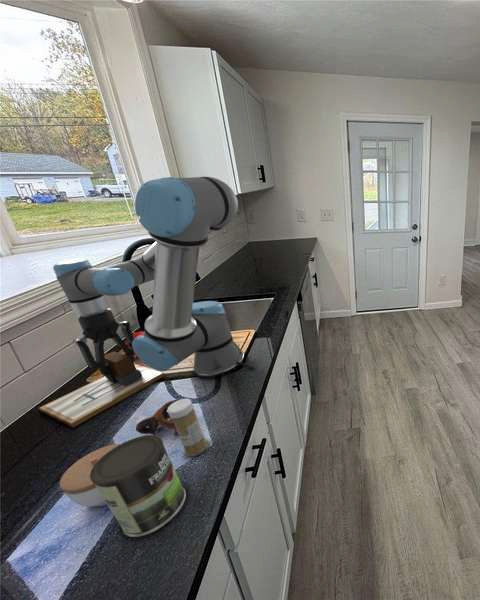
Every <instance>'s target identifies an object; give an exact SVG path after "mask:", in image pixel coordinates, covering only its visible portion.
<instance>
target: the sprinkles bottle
mask: <svg viewBox="0 0 480 600" xmlns="http://www.w3.org/2000/svg"><path fill="white" fill-rule="evenodd" d="M177 400H178V399H177ZM193 408H194V405H193V401H192V400H191V399H189V398H182V399H181V400H178V401H176V402H174V403H172V404H171V405H170V406H169V407H168V409H167V412H168V414H169V416H170V417H171V418H170V419H171V421H173V422H174V425H175V427H176V430H177V433H178V435H179V436H178V437H179V440H180V442H181V444H182V447H183V449H184V452H185V455H186V456H187V457H196V456H198V455H200V454H202V453H203V452H204V451H206V449H207V447H208V442H207V441H206V438H205V436H204V432H203V429H202V426H201V423H200V422H199V419H198V417H197V415H196V412H194V411H195V408H194V409H193Z"/></svg>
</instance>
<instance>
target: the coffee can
mask: <svg viewBox="0 0 480 600" xmlns="http://www.w3.org/2000/svg"><path fill="white" fill-rule="evenodd" d="M119 444H120V445H118V446H117V447H115V448H113V449H112V450H110V451H109V452H108V453H106V454H105V455H104V456H103V457H101V458H100V459H99V460H98V461H97V463H96V464H95V465H94V466H93V468H92V470H91V472H90V479H91V481H92V482H93V483H94V484H95V485H96V487H97V488H98V490H99V491H100V493H101V495H102V496H103V498H104V500H105V501H106V503H107V504H106V505H107V507H108V508H109V509H110V511H111V513H112V514H113V516H114V517H115V519H116V521H117V523H118V524H119V526H120V527H121V529H122V532H123V534H124V535H126V536H127V537H131V538H139V537H145V536H146V535H150V534H152V533H154V532H156V531H159V530H160V529H161V528H163V527H164V526H165V525H167V524H168V523H169V522H170V521H172V520H173V518H174V517H175V516H177V514H178V513H179V512H180V511H181V509H182V508H183V506H184V504H185V502H186V497H187V493H186V489H185V488H184V486H183V484H182V482H181V480H180V478H179V476H178V473H177V471H176V469H175V466H174V465H173V463H172V460H171V457H170V456H169V453H168V452H167V449H166V447H165V443H164V440H163V439H162V437H160V436H159V435H157V434H156V435H152V434H144V435H140V436H136V437H134V438H131V439H128V440H126V441H125V442H122V443H119Z"/></svg>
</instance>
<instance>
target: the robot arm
mask: <svg viewBox="0 0 480 600" xmlns="http://www.w3.org/2000/svg"><path fill="white" fill-rule="evenodd" d="M133 204H134V212H135V215H136V216H137V217H139V219H138V222H139V223H140V225H141V226H142V227H143V228H144V229H145V230H146V231H147V233H148V235H149V237H150V238H152V239H153V240H155V242H154V243H152V245H150V246H149V248H147V250H145V252H143V253H142V254H141V255H140V256H139V257H136V258H132V259H129V260H126V261H123V262H118V263H115V264H111V265H107V266H104V267H93V265H92V264H91V263H90V261H89V260H88V259H86V258H76V259H75V258H74V259H69V260H68V259H67V260H64V261H60V262H57V263H55V264H54V265H53V266H52V270H53V271H54V273H55V278H56V280H57V282H58V284H59V285H60V287H61V289H62V292H63V293H64V295H65V297H66V298H67V301H68V302H69V304H70V307H71V308H72V310H73V313H74V314H75V315H76V316H77V317H76V319H77V321H78V323H79V325H80V327H81V329H82V335H81V336H80V337H78V338H74V339H73V341H72V342H73V344H75V345H76V346H77V347H78V348H79V351H80V353H81V354H82V357H83V359H84V361H85V363H86V365H87V367H88V368H91V369H95V370H96V369H99V372H100V373H101V375H102V376H103V377H104V376H107V377H108V379H109V381H110V382H112V383H117V380H116V378H115V376H114V374H113V372H112V370H111V367H110V365H108V364H105V355H106V354H105V346H104V345H105V341H107V340H110V339H111V340H112V341H113V342H114V343H115V344H116V345H117V346H118V348H120V350H122V351H123V353H124V354H123V355H126V356H129V357H130V359H131V362H132V364H133V366H134V368H135V365H134V364H135V363H136V362H137V360H136V357H137V358H138V359H139V361H141V362H142V363H143V364H144V365H146V366H147V367H148V368H150V369H153V370H156V371H159V372H164V371H168V370H170V369H172V368H174V367H175V366H178V365H179V364H180V363H182V362H183V361H185V360H186V359H188V358H189V357H190V356H192V355H193V354H194V357H193V362H192V361H191V359H189V361H190V364H191V365H192V366H193V371H194V374H195V375H196V376H197V377H199V378H203V379H209V378H210V379H211V378H216V377H221V376H224V375H226V374H229V373H232V372H233V371H235V370H236V369H238V368H239V367H240V366H242V367H245V368H248V369H251V370H253V369H254V366H252V365H250V364H246V363H244V362H245V354H244V352H243V350H242V349H241V348H240V346H239V345H238V344H237V343H236V341H235V340H234V338H233V334H232V331H231V327H230V324H229V321H228V317H227V312H226V311H225V308H224V306H223V303H221V302H219V301H216V300H204V301H197V302H194V295H195V288H196V280H197V271H198V269H197V268H198V262H199V255H200V247H203V246H205V245H207V244H208V242H209V241H208V240H209V235H210V234H211V233H212V232H218V231H221V230H222V229H223V228H224V227H225V226H227V225H228V224H229V223H230V222H231V221H233V219H234V218H235V217H236V216H237V214H238V210H239V202H238V198H237V195H236V193H235V192H234V190H233V189H232V187H230V186H229V185H228V184H227V183H226V182H224V181H223V180H221V179H218V178H216V177H211V176H195V177H171V176H168V177H161V178H156V179H155V178H154V179H149V180H148V181H146V182H144V183H142V184H141V185H140V187H139V188H138V189H137V191H136V193H135V197H134V201H133ZM151 281H153V295H152V314H151V315H149V316H148V317H147V318H146V319H145V321H144V329H143V332H144V334H143V335H139V336H137V338H135V339H134V337H133V332H132V330H131V323H130V322H129V321H125V320H123V321H120V322H119V321H117V320H116V318H115V315H114V314H113V311H112V309H111V308H109V307H110V305H109V302H108V299H107V298H106V296H107V297H110V296H111V297H117V296H123V295H126V294H129V292H130V291H131V290H132V289H133V288H135V287H137V286H140V285H143V284H146V283H148V282H151ZM119 329H121V332H122V334H123V336H124V339H125V341H124V340H123V339H122V338H121V336H120V335H119V333H117V332H118V330H119ZM87 339H89V340H91V341H92V344H93V346H94V355H93V353H92V351H91V350H90V347H89V345H88V344H87V343H88V340H87ZM126 340H127V343H128V345H129V347H130V348H129V347H128V346H127V345H126V343H125V342H126ZM134 352H135V354H136V355H137V356H134V355H133V354H134ZM135 369H136V368H135Z"/></svg>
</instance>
